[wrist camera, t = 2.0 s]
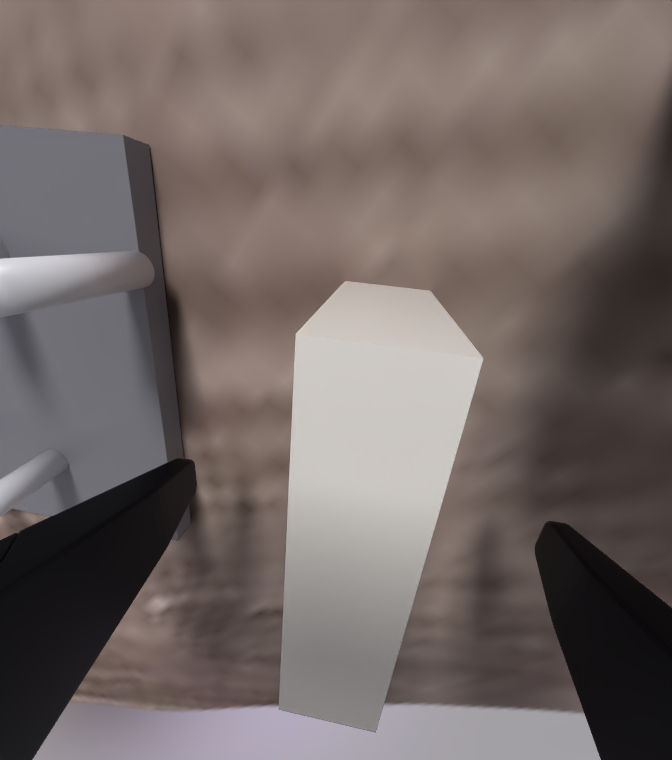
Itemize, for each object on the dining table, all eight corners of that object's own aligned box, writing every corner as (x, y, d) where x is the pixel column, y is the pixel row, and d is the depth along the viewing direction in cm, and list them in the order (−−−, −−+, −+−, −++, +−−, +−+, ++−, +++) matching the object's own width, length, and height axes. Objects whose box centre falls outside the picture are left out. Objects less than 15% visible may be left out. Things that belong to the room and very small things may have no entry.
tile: (430, 290, 10) (483, 358, 4) (380, 537, 14) (375, 732, 8) (345, 280, 10) (295, 333, 5) (320, 526, 14) (278, 709, 9)
